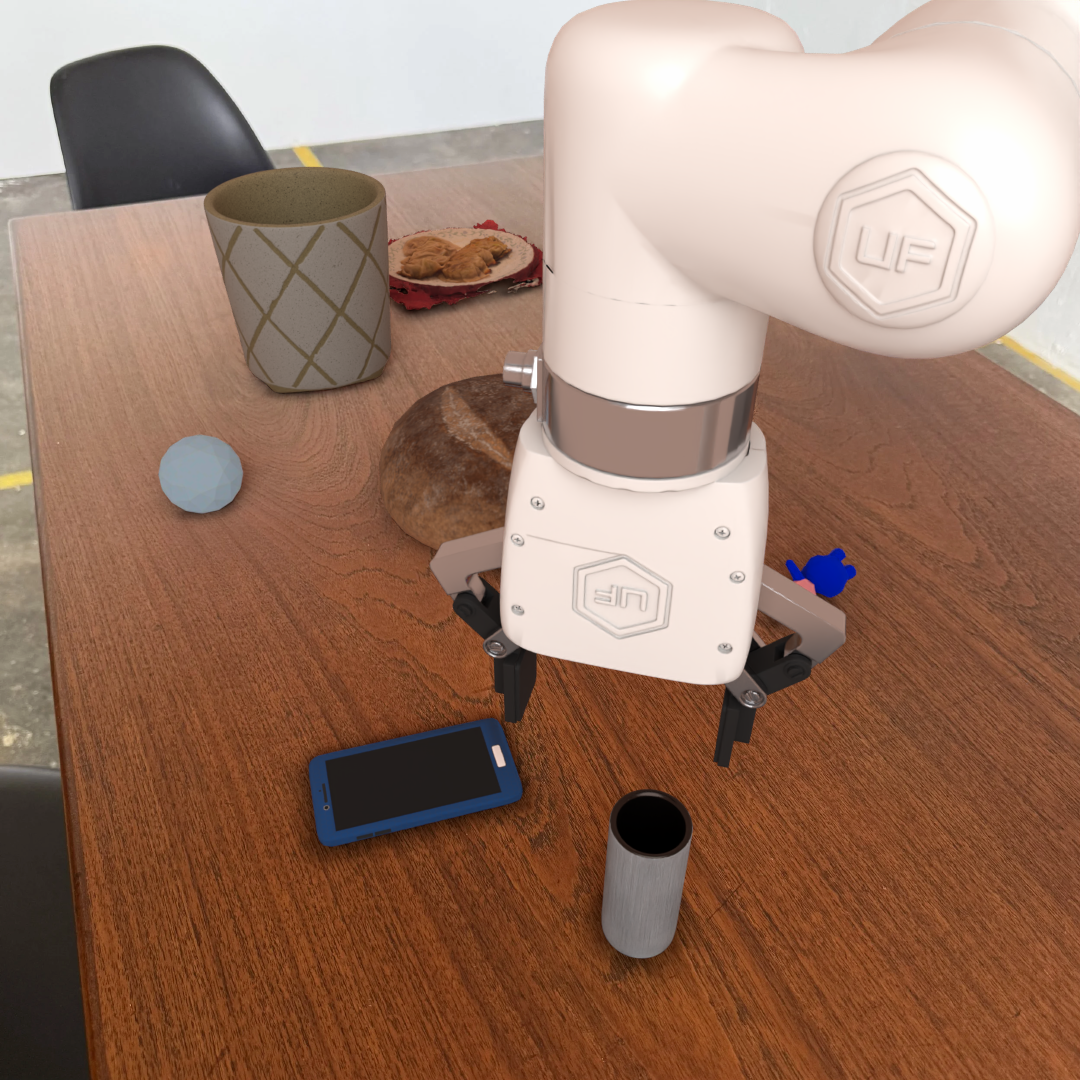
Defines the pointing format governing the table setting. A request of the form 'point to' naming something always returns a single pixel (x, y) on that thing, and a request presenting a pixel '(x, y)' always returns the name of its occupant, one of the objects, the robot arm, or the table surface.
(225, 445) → the gemstone
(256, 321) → the planter
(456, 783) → the cell phone
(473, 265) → the plate with food
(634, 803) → the planter
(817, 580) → the figurine
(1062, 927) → the table surface
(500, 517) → the bread
